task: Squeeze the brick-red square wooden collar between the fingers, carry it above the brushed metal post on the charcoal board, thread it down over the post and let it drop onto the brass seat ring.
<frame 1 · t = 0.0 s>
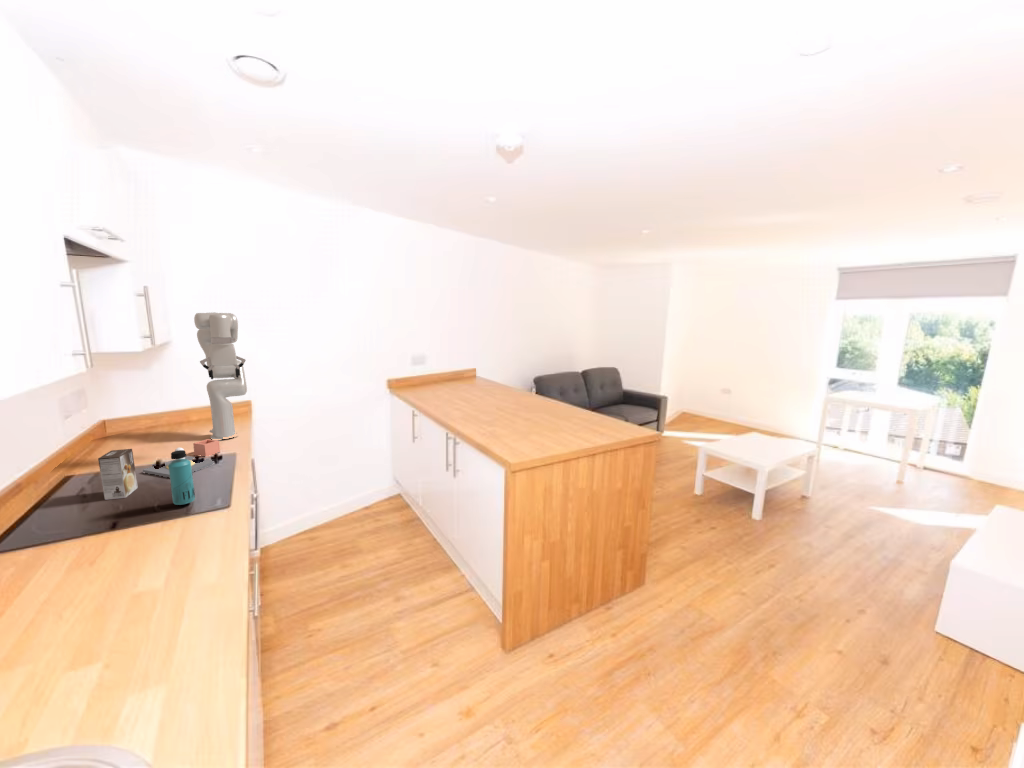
hand: (224, 378, 189), 37 cm above the counter, tool pointing down, fingers open, 9 cm apart
beverage bottle: (184, 505, 145), on the counter
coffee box: (121, 494, 152), on the counter
collar: (207, 453, 195), on the counter
post board: (181, 468, 177), on the counter
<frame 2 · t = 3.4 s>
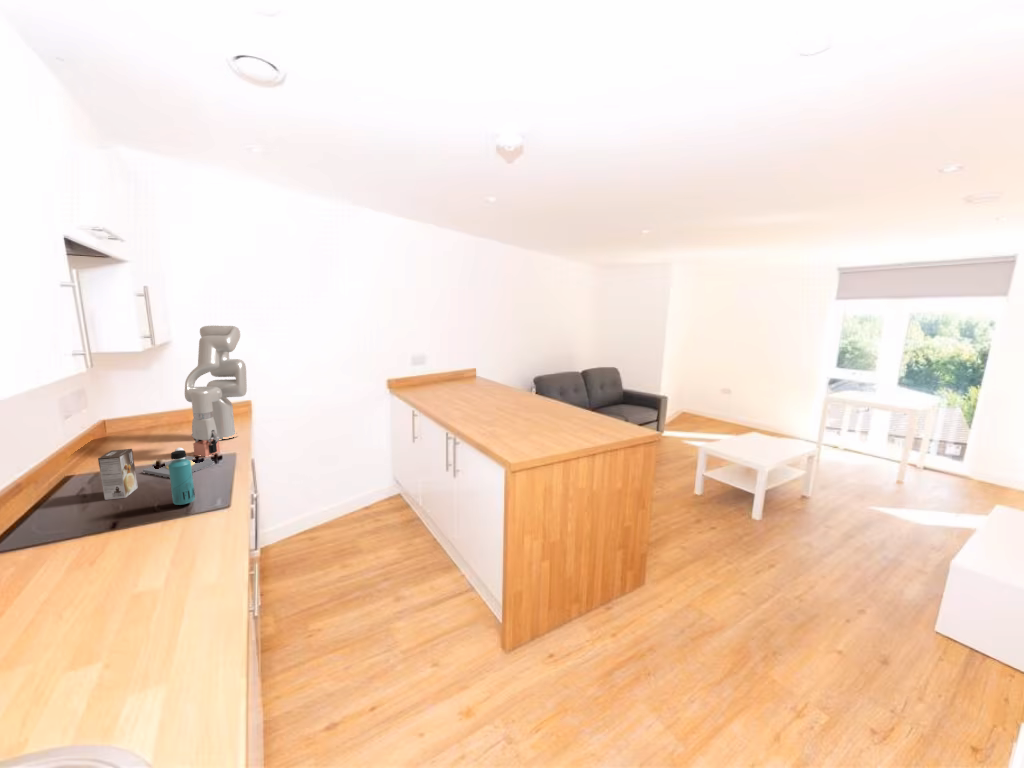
hand: (207, 451, 194), 1 cm above the counter, tool pointing down, fingers closed on collar, 7 cm apart
collar: (207, 453, 195), on the counter, touching gripper
everything else where it was.
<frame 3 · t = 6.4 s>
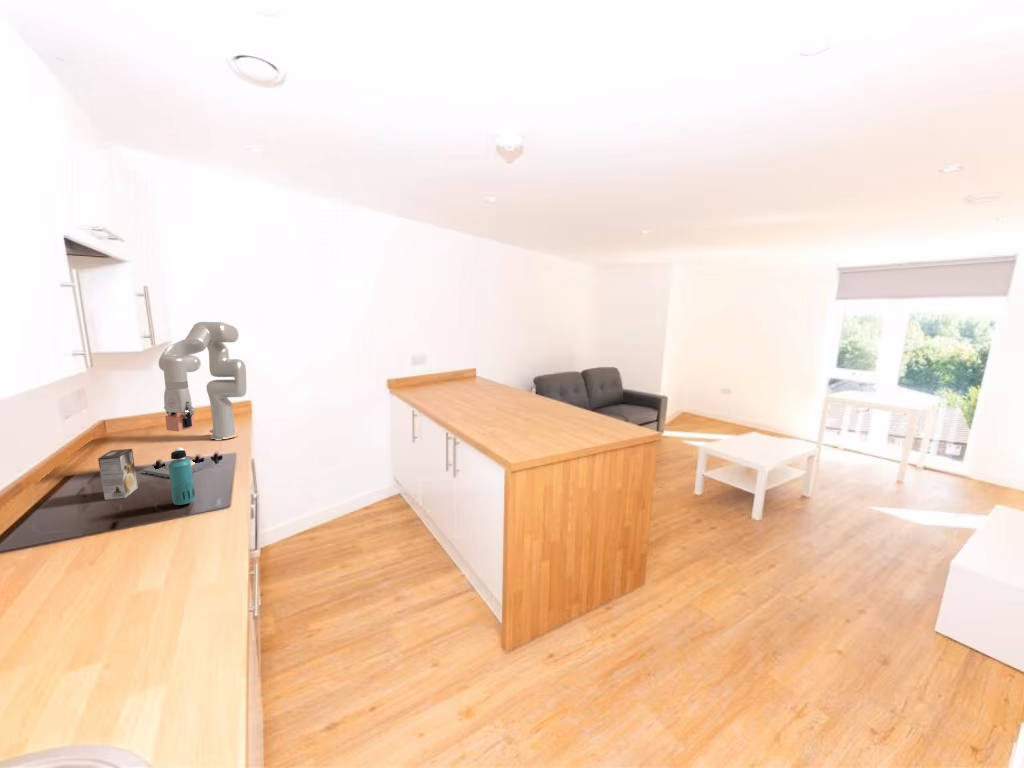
hand: (181, 425, 176), 18 cm above the counter, tool pointing down, fingers closed on collar, 7 cm apart
collar: (181, 428, 176), point 17 cm above the counter, touching gripper
everything else where it was.
when the fingers open (5 cm above the counter, at t = 9.8 s): collar drops 2 cm, resting on post board.
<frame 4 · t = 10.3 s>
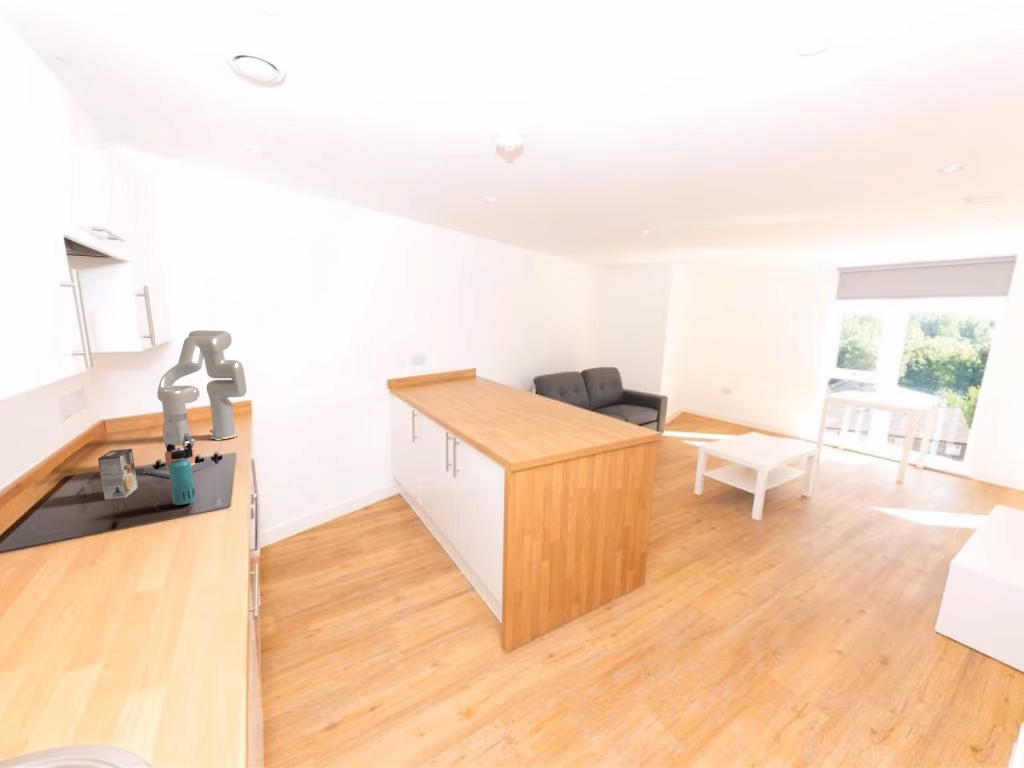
hand: (180, 456, 176), 6 cm above the counter, tool pointing down, fingers open, 9 cm apart
collar: (180, 464, 176), point 2 cm above the counter, touching post board
everything else where it was.
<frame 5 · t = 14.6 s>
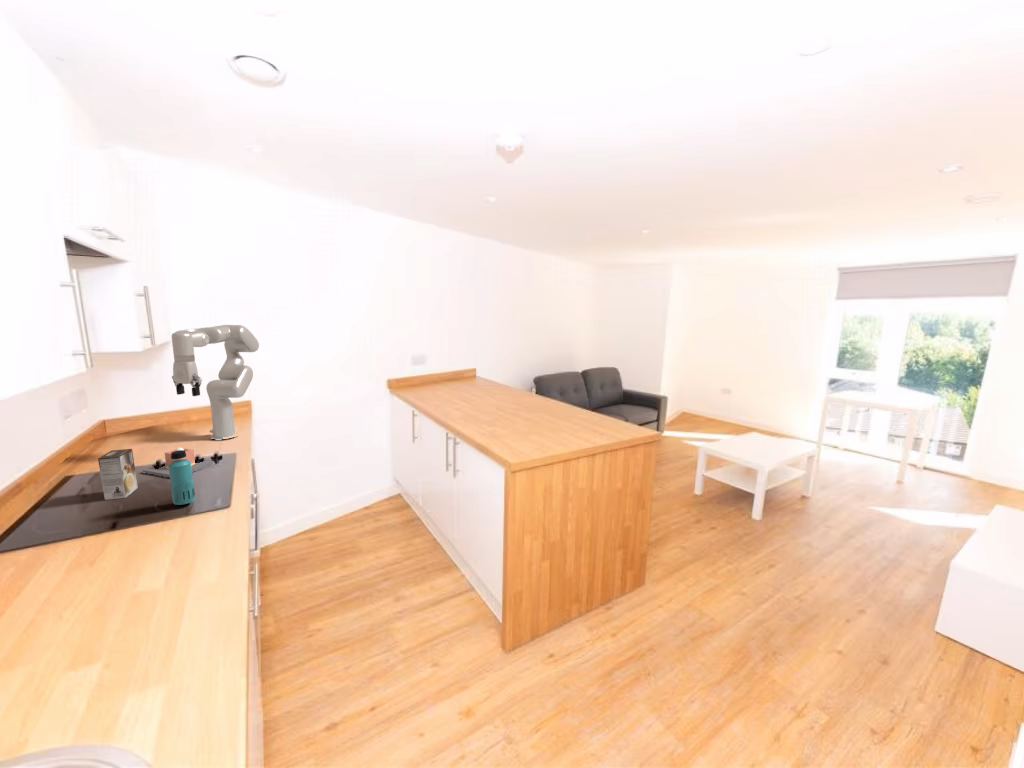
hand: (188, 394, 192), 28 cm above the counter, tool pointing down, fingers open, 9 cm apart
nothing on the counter moved.
at the end: collar 0.2 cm from the post board (horizontally); collar point 1.8 cm above the counter; the gripper is holding nothing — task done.
